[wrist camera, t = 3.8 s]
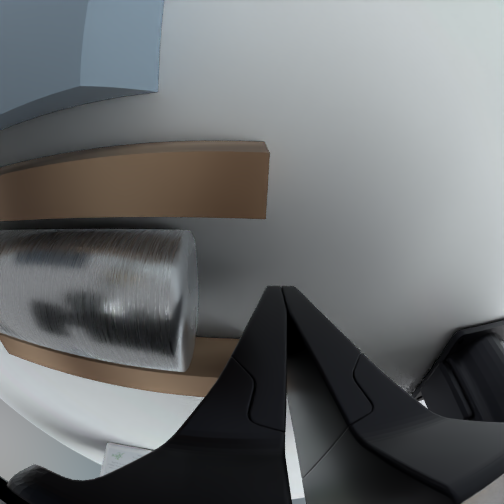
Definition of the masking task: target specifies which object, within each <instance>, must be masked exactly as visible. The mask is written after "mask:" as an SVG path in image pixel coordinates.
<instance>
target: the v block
mask: <svg viewBox="0 0 504 504" xmlns="http://www.w3.org/2000/svg"><path fill="white" fill-rule="evenodd" d="M163 6H164V0H0V130H2V129H5V128H7V127H10V126H13V125H15V124H18V123H21V122H23V121H26V120H29V119H32V118H35V117H38V116H41V115H45V114H48V113H51V112H55V111H58V110H62V109H66V108H70V107H74V106H78V105H82V104H86V103H91V102H96V101H101V100H106V99H111V98H117V97H123V96H130V95H137V94H144V93H153V92H158V73H159V52H160V37H161V25H162V15H163Z"/></svg>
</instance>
